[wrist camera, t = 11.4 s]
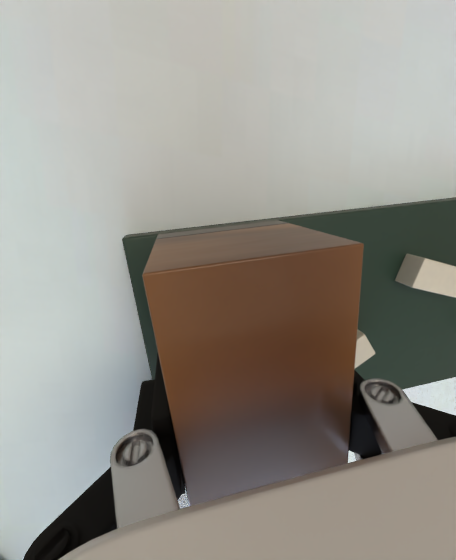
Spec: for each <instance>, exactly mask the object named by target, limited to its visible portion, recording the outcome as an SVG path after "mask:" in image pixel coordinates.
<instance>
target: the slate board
mask: <svg viewBox="0 0 456 560" xmlns="http://www.w3.org/2000/svg"><path fill="white" fill-rule="evenodd" d="M274 220H279V221H283V222H286V223H290V224H294V225H298V226H301V227H305V228H309V229H312V230H316V231H320V232H323V233H327V234H331V235H334V236H338V237H342V238H346V239H349V240H353V241H357V242H360V243H363V244H364V249H363V263H362V276H361V289H360V303H359V316H358V330H359V331H361V332H362V333H364V334H365V336H366V337H367V339H368V341H369V343H370V344H371V346H372V348H373V350H374V351H375V354H374V355H373V356H372V357H370V358H369V359H367V360H366V361H365V362H363V363H362V364H361V365H359V366H358V367H356V368H355V371H356V372H357V373H358V374H359V375H360V376H361V377H362V378H363V379H364V380H366V379H370V378H379V379H384V380H387V381H390V382H392V383H394V384H396V385H397V386H399V387H400V388H401V389H406V388H410V387H414V386H419V385H423V384H427V383H431V382H436V381H440V380H444V379H448V378H452V377H456V298H455V297H451V296H446V295H442V294H438V293H433V292H429V291H425V290H420V289H416V288H412V287H409V286H407V285H404V284H402V283H399V282H397V281H395V279H396V277H397V274H398V272H399V270H400V267H401V265H402V263H403V260H404V258H405V256H406V254H411V255H415V256H419V257H423V258H427V259H430V260H434V261H438V262H441V263H445V264H449V265H452V266H456V198H447V199H438V200H429V201H421V202H412V203H403V204H394V205H385V206H377V207H368V208H359V209H350V210H342V211H333V212H324V213H315V214H306V215H298V216H289V217H280V218H271V219H262V220H254V221H245V222H236V223H227V224H218V225H210V226H201V227H192V228H183V229H174V230H166V231H157V232H148V233H139V234H131V235H126V236H125V237H124V238H123V239H122V241H123V246H124V250H125V255H126V259H127V264H128V269H129V273H130V278H131V283H132V287H133V292H134V297H135V301H136V306H137V311H138V315H139V320H140V325H141V329H142V334H143V339H144V343H145V348H146V353H147V357H148V362H149V366H150V371H151V376H152V380H154V379H155V373H156V363H157V354H158V350H157V345H156V340H155V335H154V330H153V326H152V321H151V316H150V311H149V306H148V301H147V296H146V291H145V287H144V282H143V277H142V275H143V272H144V269H145V266H146V264H147V261H148V259H149V256H150V254H151V251H152V248H153V246H154V243H155V241H156V238H157V236H158V234H164V233H173V232H181V231H190V230H198V229H207V228H215V227H223V226H232V225H240V224H249V223H257V222H266V221H274Z"/></svg>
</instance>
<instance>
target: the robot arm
mask: <svg viewBox="0 0 456 560" xmlns="http://www.w3.org/2000/svg"><path fill="white" fill-rule="evenodd" d="M349 450H350V451H352V452H354V453H355V458H356V461H355V462H351V463H347V464H343V465H339V466H336V467H332V468H328V469H325V470H321V471H317V472H313V473H310V474H306V475H302V476H298V477H295V478H291V479H287V480H284V481H280V482H276V483H272V484H269V485H265V486H261V487H258V488H254V489H250V490H247V491H243V492H240V493H236V494H232V495H229V496H225V497H221V498H218V499H214V500H210V501H207V502H203V503H200V504H196V505H192V506H189V507H185V508H182V509H180V507H179V504H178V501H177V500H178V499H179V497H180V496H181V495H182V494H184V493H185V482H184V477H183V472H182V467H181V462H180V457H179V452H178V447H177V443H176V438H175V433H174V428H173V423H172V418H171V413H170V408H169V404H168V399H167V394H166V389H165V384H164V379H163V374H162V369H161V365H160V360H159V355H158V354H157V363H156V373H155V379H154V380H149V381H143V382H142V384H141V389H140V395H139V401H138V407H137V413H136V419H135V424H134V430H133V431H132V432H130V433H128V434H126V435H125V436H123V437H122V438H121V439H120V440H119V441H118V442H117V443H116V445H115V446H114V447H113V450H112V452H111V456H110V464H111V467H110V468H109V469H108V470H107V471H106V472H105V473H104V474H103V475H102V476H101V477H100V478H99V479H98V480H96V481H95V482H94V483H93V484H92V485H91V486H90V487H89V488H88V489H87V490H86V491H85V492H84V493H83V494H82V495H81V496H80V497H79V498H78V499H77V500H75V501H74V502H73V503H72V504H71V505H70V506H69V507H68V508H67V509H66V510H65V511H64V512H63V513H62V514H61V515H60V516H59V517H58V518H57V519H55V520H54V521H53V522H52V523H51V524H50V525H49V526H48V527H47V528H46V529H45V530H44V531H43V532H42V533H41V534H40V535H39V536H38V537H37V538H36V540H35V541H34V542H33V543H32V545H31V546H30V548H29V549H28V551H27V552H26V554H25V556H24V559H23V560H456V416H455V415H452V414H448V413H445V412H442V411H438V410H435V409H432V408H429V407H425V406H422V405H419V404H416V403H412V402H411V401H410V400H409V398H408V397H407V396H406V394H405V393H404V391H403V390H402V389H401V388H400V387H399V386H397V385H396V384H394V383H392V382H390V381H387V380H384V379H379V378H370V379H366V380H364V379H363V378H362V377H361V376H360V375H359V374H358V373H357V372H356V371H355V370H354V383H353V396H352V410H351V423H350V436H349ZM349 450H348V451H349Z"/></svg>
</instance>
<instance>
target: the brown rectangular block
mask: <svg viewBox="0 0 456 560" xmlns="http://www.w3.org/2000/svg"><path fill="white" fill-rule="evenodd" d="M363 249H364V244H363V243H360V242H357V241H353V240H349V239H346V238H342V237H338V236H334V235H331V234H327V233H323V232H320V231H316V230H312V229H309V228H305V227H301V226H298V225H294V224H290V223H286V222H283V221H279V220H274V221H266V222H257V223H249V224H240V225H232V226H223V227H215V228H207V229H198V230H190V231H181V232H173V233H164V234H158V236H157V238H156V241H155V243H154V246H153V248H152V251H151V254H150V256H149V259H148V261H147V264H146V266H145V269H144V272H143V275H142V277H143V282H144V287H145V291H146V296H147V301H148V306H149V311H150V316H151V321H152V326H153V330H154V335H155V340H156V345H157V350H158V355H159V360H160V365H161V369H162V374H163V379H164V384H165V389H166V394H167V399H168V404H169V408H170V413H171V418H172V423H173V428H174V433H175V438H176V443H177V447H178V452H179V457H180V462H181V467H182V472H183V477H184V482H185V487H186V491H187V496H188V501H189V506H192V505H196V504H200V503H203V502H207V501H210V500H214V499H218V498H221V497H225V496H229V495H232V494H236V493H240V492H243V491H247V490H250V489H254V488H258V487H261V486H265V485H269V484H272V483H276V482H280V481H284V480H287V479H291V478H295V477H298V476H302V475H306V474H310V473H313V472H317V471H321V470H325V469H328V468H332V467H336V466H339V465H343V464H347V463H348V450H349V436H350V423H351V410H352V396H353V383H354V370H355V356H356V343H357V330H358V316H359V303H360V289H361V276H362V263H363Z"/></svg>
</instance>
